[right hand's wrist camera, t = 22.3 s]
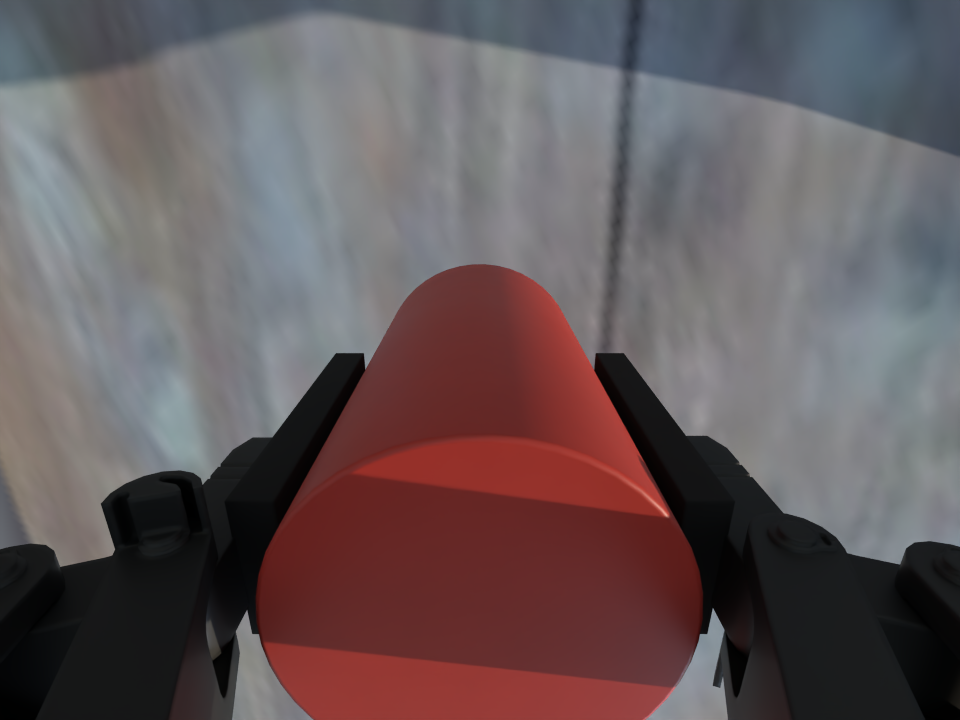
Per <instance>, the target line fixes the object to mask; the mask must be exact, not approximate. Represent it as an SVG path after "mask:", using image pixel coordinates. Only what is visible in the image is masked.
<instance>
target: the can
mask: <svg viewBox="0 0 960 720" xmlns="http://www.w3.org/2000/svg"><path fill="white" fill-rule="evenodd" d="M256 620H257V627H258V631H259V636H260V641H261V645H262V647H263V650H264V652H265V655H266V657H267V660H268V662H269V665H270V667H271V668H272V670H273V672H274V673H275V675H276V677H277V679H278V680H279V682H280V684H281V685H282V686H283V688H284V689H285V690H286V691H287V693H288V694H289V695H290V696H291V698H292V699H293V700H294V701H295V702H296V703H297V704H298V705H299V706H300V707H301V708H302V709H303V710H304V711H305V712H306V713H307V714H308V715H309V716H310V717H311V718H312V719H314V720H645V719H646V718H648V717H649V716H650V715H651V714H652V713H653V712H654V711H655V710H656V709H657V708H658V707H659V706H660V705H661V704H662V703H663V702H664V701H665V700H666V699H667V698H668V696H669V695H670V694H671V693H672V691H673V690H674V689H675V687H676V686H677V685H678V683H679V682H680V681H681V679H682V677H683V675H684V673H685V671H686V670H687V668H688V666H689V664H690V662H691V660H692V657H693V655H694V652H695V649H696V647H697V644H698V641H699V636H700V631H701V625H702V620H703V590H702V584H701V577H700V571H699V568H698V565H697V562H696V559H695V556H694V554H693V551H692V548H691V546H690V544H689V542H688V541H687V539H686V537H685V535H684V533H683V531H682V530H681V528H680V526H679V524H678V522H677V521H676V519H675V517H674V515H673V513H672V511H671V510H670V508H669V506H668V504H667V502H666V500H665V499H664V497H663V495H662V493H661V491H660V490H659V488H658V486H657V484H656V482H655V480H654V479H653V477H652V475H651V473H650V471H649V470H648V468H647V466H646V464H645V462H644V460H643V459H642V457H641V455H640V453H639V451H638V450H637V448H636V446H635V444H634V442H633V440H632V439H631V437H630V435H629V433H628V431H627V430H626V428H625V426H624V424H623V422H622V420H621V419H620V417H619V415H618V413H617V411H616V410H615V408H614V406H613V404H612V402H611V400H610V399H609V397H608V395H607V393H606V391H605V389H604V388H603V386H602V384H601V382H600V380H599V379H598V377H597V375H596V373H595V371H594V369H593V368H592V366H591V364H590V362H589V360H588V359H587V357H586V355H585V353H584V351H583V349H582V348H581V346H580V344H579V342H578V340H577V339H576V337H575V335H574V333H573V331H572V329H571V328H570V326H569V324H568V322H567V320H566V319H565V317H564V315H563V313H562V311H561V309H560V308H559V306H558V305H557V303H556V302H555V301H554V299H553V298H552V297H551V295H550V294H549V293H548V292H547V291H546V290H545V289H544V288H543V287H541V286H540V285H539V284H537V283H536V282H535V281H533V280H532V279H530V278H528V277H527V276H525V275H523V274H521V273H519V272H516V271H514V270H511V269H508V268H504V267H500V266H494V265H486V264H478V265H466V266H459V267H456V268H452V269H449V270H446V271H443V272H441V273H439V274H436V275H435V276H433V277H431V278H430V279H428V280H426V281H425V282H423V283H422V284H421V285H420V286H418V287H417V288H416V289H415V290H414V291H413V292H412V293H411V294H410V295H409V296H408V297H407V299H406V300H405V301H404V303H403V304H402V306H401V307H400V309H399V310H398V312H397V314H396V316H395V318H394V319H393V321H392V323H391V325H390V327H389V328H388V330H387V332H386V334H385V336H384V337H383V339H382V341H381V343H380V345H379V346H378V348H377V350H376V352H375V354H374V355H373V357H372V359H371V361H370V363H369V364H368V366H367V368H366V370H365V372H364V374H363V375H362V377H361V379H360V381H359V383H358V384H357V386H356V388H355V390H354V392H353V393H352V395H351V397H350V399H349V401H348V402H347V404H346V406H345V408H344V410H343V411H342V413H341V415H340V417H339V419H338V420H337V422H336V424H335V426H334V428H333V429H332V431H331V433H330V435H329V437H328V438H327V440H326V442H325V444H324V446H323V447H322V449H321V451H320V453H319V455H318V456H317V458H316V460H315V462H314V464H313V465H312V467H311V469H310V471H309V473H308V475H307V476H306V478H305V480H304V482H303V484H302V485H301V487H300V489H299V491H298V493H297V494H296V496H295V498H294V500H293V502H292V503H291V505H290V507H289V509H288V511H287V512H286V514H285V516H284V518H283V520H282V521H281V523H280V525H279V527H278V529H277V530H276V532H275V534H274V536H273V538H272V540H271V542H270V544H269V546H268V548H267V550H266V552H265V555H264V558H263V561H262V565H261V568H260V571H259V574H258V582H257V590H256Z"/></svg>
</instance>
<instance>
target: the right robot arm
mask: <svg viewBox="0 0 960 720" xmlns="http://www.w3.org/2000/svg"><path fill="white" fill-rule="evenodd" d="M594 371H595V373H596V375H597V377H598V379H599V380H600V382H601V384H602V386H603V388H604V389H605V391H606V393H607V395H608V397H609V399H610V400H611V402H612V404H613V406H614V408H615V410H616V411H617V413H618V415H619V417H620V419H621V420H622V422H623V424H624V426H625V428H626V430H627V431H628V433H629V435H630V437H631V439H632V440H633V442H634V444H635V446H636V448H637V450H638V451H639V453H640V455H641V457H642V459H643V460H644V462H645V464H646V466H647V468H648V470H649V471H650V473H651V475H652V477H653V479H654V480H655V482H656V484H657V486H658V488H659V490H660V491H661V493H662V495H663V497H664V499H665V500H666V502H667V504H668V506H669V508H670V510H671V511H672V513H673V515H674V517H675V519H676V521H677V522H678V524H679V526H680V528H681V530H682V531H683V533H684V535H685V537H686V539H687V541H688V542H689V544H690V546H691V548H692V551H693V554H694V556H695V559H696V562H697V565H698V568H699V571H700V577H701V584H702V590H703V620H702V625H701V631H700V634H707V633H708V628H709V623H710V618H711V614H712V609H714V611H715V612H716V614H717V616H718V618H719V620H720V622H721V624H722V626H723V628H724V630H725V631H724V635H723V640H722V644H721V648H720V653H719V657H718V662H717V666H716V670H715V675H714V682H713V686H716V687H719V688H720V686H721V682H722V677H723V679H724V688H725V696H726V705H727V713H728V720H960V547H958V546H955V545H951V544H944V543H938V542H931V541H927V542H916V543H913V544H912V545H910V546H909V547H908V548H906V551H905V553H904V556H903V559H902V561H901V564H900V565H899V564H894V563H889V562H884V561H880V560H875V559H870V558H865V557H860V556H856V555H852V554H848V553H847V552H846V550H845V548H844V547H843V546H842V545H841V543H840V542H839V541H838V539H837V538H836V537H835V536H833V535H832V534H831V533H829V532H828V531H827V530H825V529H824V528H823V527H821V526H819V525H817V524H815V523H813V522H810V521H808V520H806V519H804V518H800V517H797V516H793V515H789V514H784V513H783V512H782V511H781V510H780V509H779V508H778V506H777V505H776V504H775V503H774V502H773V501H772V500H771V498H770V497H769V496H768V495H767V494H766V493H765V491H764V490H763V489H762V488H761V487H760V486H759V484H758V483H757V482H756V481H755V480H754V479H753V478H752V477H750V476H749V473H748V472H747V471H746V469H745V468H744V467H743V466H742V465H739V461H738V460H737V459H736V458H735V457H734V456H733V454H732V453H731V452H730V451H729V450H728V449H727V448H726V447H724V446H723V445H721V444H719V443H718V442H716V441H715V440H713V439H711V438H710V437H708V436H686V435H685V434H684V433H683V431H682V430H681V429H680V427H679V426H678V425H677V423H676V422H675V421H674V419H673V418H672V417H671V415H670V414H669V413H668V411H667V410H666V409H665V407H664V406H663V405H662V403H661V402H660V401H659V399H658V398H657V397H656V396H655V394H654V393H653V392H652V390H651V389H650V388H649V386H648V385H647V384H646V382H645V381H644V380H643V378H642V377H641V376H640V374H639V373H638V372H637V370H636V369H635V368H634V366H633V365H632V364H631V362H630V361H629V360H628V358H627V357H626V356H625V354H624V353H596V357H595V369H594ZM364 372H365V361H364V353H336V354H335V355H334V357H333V358H332V359H331V361H330V362H329V363H328V365H327V366H326V367H325V369H324V370H323V371H322V373H321V374H320V375H319V376H318V378H317V379H316V380H315V382H314V383H313V384H312V386H311V387H310V388H309V390H308V391H307V392H306V394H305V395H304V396H303V398H302V399H301V400H300V402H299V403H298V404H297V406H296V407H295V408H294V410H293V411H292V412H291V414H290V415H289V416H288V418H287V419H286V420H285V422H284V423H283V424H282V426H281V427H280V428H279V430H278V431H277V432H276V434H275V435H274V436H273V437H272V438H251V439H250V440H248V441H247V442H245V443H243V444H242V445H240V446H238V447H237V448H235V449H233V450H232V452H231V453H230V454H229V455H228V456H227V457H226V459H225V460H224V461H223V462H222V463H221V467H218V468H217V469H216V470H215V471H214V472H213V474H212V475H211V478H210V479H207V481H206V482H205V483H204V484H203V485H202V481H201V478H199V477H198V476H197V475H195V474H194V473H191V472H185V471H165V472H159V473H155V474H151V475H147V476H143V477H141V478H138V479H136V480H133V481H131V482H128V483H126V484H124V485H123V486H121V487H120V488H118V489H116V490H115V491H113V492H112V493H110V494H109V495H108V497H107V498H106V499H105V500H104V501H103V502H102V503H101V506H102V509H103V512H104V515H105V519H106V522H107V525H108V528H109V531H110V534H111V538H112V541H113V544H114V547H115V551H114V553H113V555H112V556H109V557H106V558H101V559H96V560H91V561H87V562H82V563H77V564H72V565H68V566H63V567H60V565H59V563H58V560H57V557H56V555H55V552H54V550H52V549H51V548H49V547H48V546H46V545H40V544H25V545H19V546H13V547H8V548H4V549H0V720H232V715H233V706H234V698H235V689H236V680H237V672H238V663H239V655H240V652H239V645H238V640H237V635H236V630H237V628H238V626H239V624H240V622H241V620H242V618H243V616H244V614H245V612H246V611H248V615H249V620H250V625H251V630H252V634H259V631H258V627H257V620H256V590H257V582H258V574H259V571H260V568H261V565H262V561H263V558H264V555H265V552H266V550H267V548H268V546H269V544H270V542H271V540H272V538H273V536H274V534H275V532H276V530H277V529H278V527H279V525H280V523H281V521H282V520H283V518H284V516H285V514H286V512H287V511H288V509H289V507H290V505H291V503H292V502H293V500H294V498H295V496H296V494H297V493H298V491H299V489H300V487H301V485H302V484H303V482H304V480H305V478H306V476H307V475H308V473H309V471H310V469H311V467H312V465H313V464H314V462H315V460H316V458H317V456H318V455H319V453H320V451H321V449H322V447H323V446H324V444H325V442H326V440H327V438H328V437H329V435H330V433H331V431H332V429H333V428H334V426H335V424H336V422H337V420H338V419H339V417H340V415H341V413H342V411H343V410H344V408H345V406H346V404H347V402H348V401H349V399H350V397H351V395H352V393H353V392H354V390H355V388H356V386H357V384H358V383H359V381H360V379H361V377H362V375H363V374H364Z"/></svg>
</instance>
